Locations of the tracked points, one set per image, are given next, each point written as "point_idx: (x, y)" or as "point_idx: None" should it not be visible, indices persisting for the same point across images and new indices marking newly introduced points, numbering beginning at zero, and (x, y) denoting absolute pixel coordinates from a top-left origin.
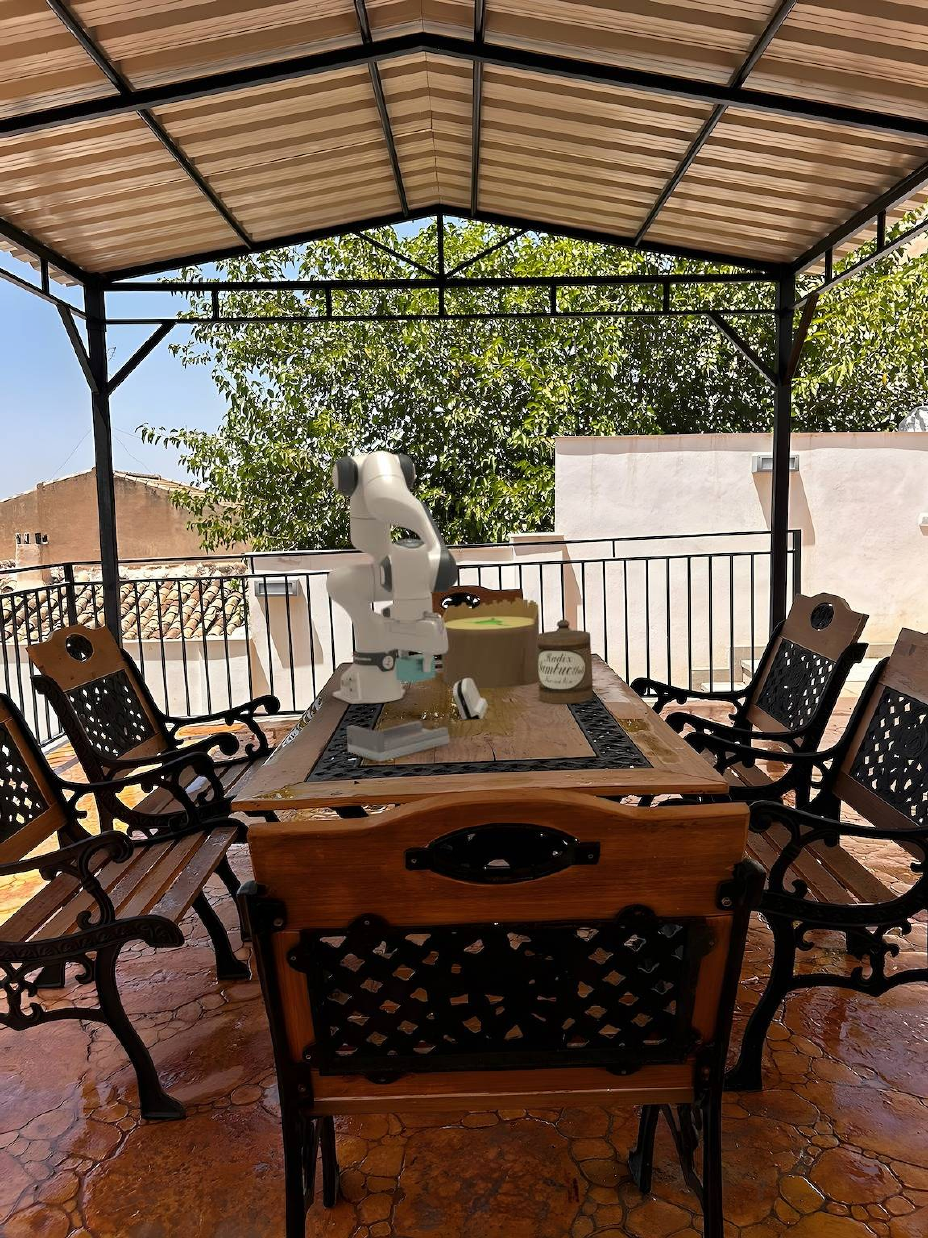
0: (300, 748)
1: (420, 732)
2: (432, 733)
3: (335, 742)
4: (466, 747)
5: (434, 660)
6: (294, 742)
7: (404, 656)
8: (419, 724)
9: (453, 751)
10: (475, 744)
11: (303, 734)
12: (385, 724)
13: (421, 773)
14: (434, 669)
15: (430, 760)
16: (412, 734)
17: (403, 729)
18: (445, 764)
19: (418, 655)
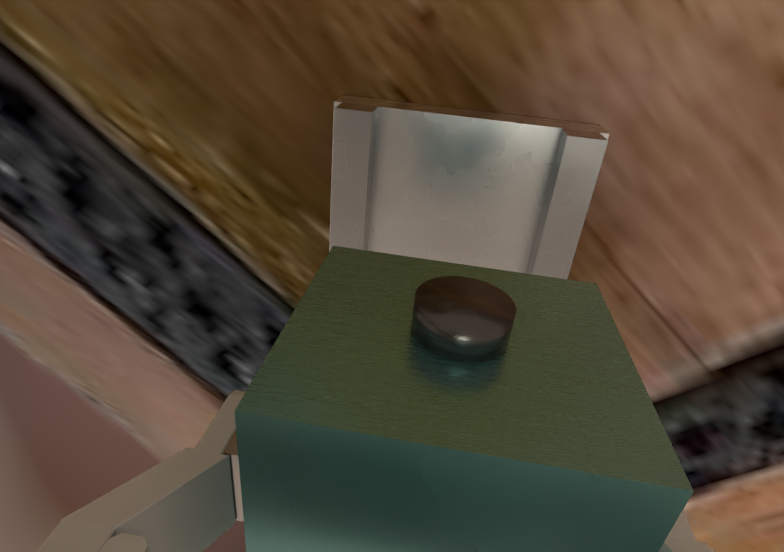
0: (175, 432)
1: (438, 180)
2: (576, 242)
3: (187, 345)
4: (727, 135)
5: (665, 431)
6: (95, 399)
7: (172, 540)
8: (373, 128)
9: (697, 220)
10: (749, 61)
11: (11, 326)
12: (49, 27)
13: (728, 462)
14: (619, 345)
15: (672, 354)
16: (432, 228)
17: (367, 228)
18: (763, 366)
19: (344, 508)
